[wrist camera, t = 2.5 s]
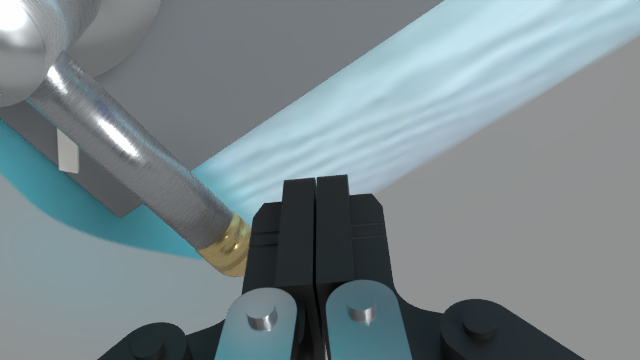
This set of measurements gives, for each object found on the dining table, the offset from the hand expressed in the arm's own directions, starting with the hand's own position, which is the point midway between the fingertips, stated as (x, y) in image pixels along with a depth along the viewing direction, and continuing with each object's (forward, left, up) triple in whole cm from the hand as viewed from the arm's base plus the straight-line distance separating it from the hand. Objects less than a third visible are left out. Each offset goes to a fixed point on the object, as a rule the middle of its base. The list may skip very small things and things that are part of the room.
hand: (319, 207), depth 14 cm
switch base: (-7, -3, -10) cm, 13 cm away
